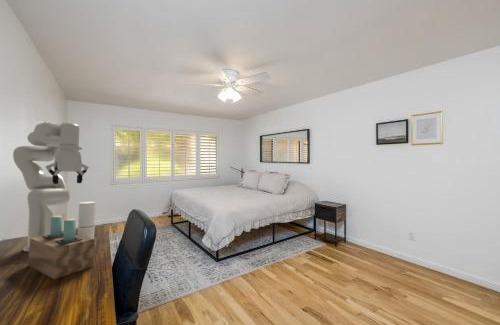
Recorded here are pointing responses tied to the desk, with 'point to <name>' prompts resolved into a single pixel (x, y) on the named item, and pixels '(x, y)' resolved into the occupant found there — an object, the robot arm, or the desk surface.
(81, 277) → the desk surface
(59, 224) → the peg
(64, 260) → the walnut block
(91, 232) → the cylindrical container
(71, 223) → the peg
